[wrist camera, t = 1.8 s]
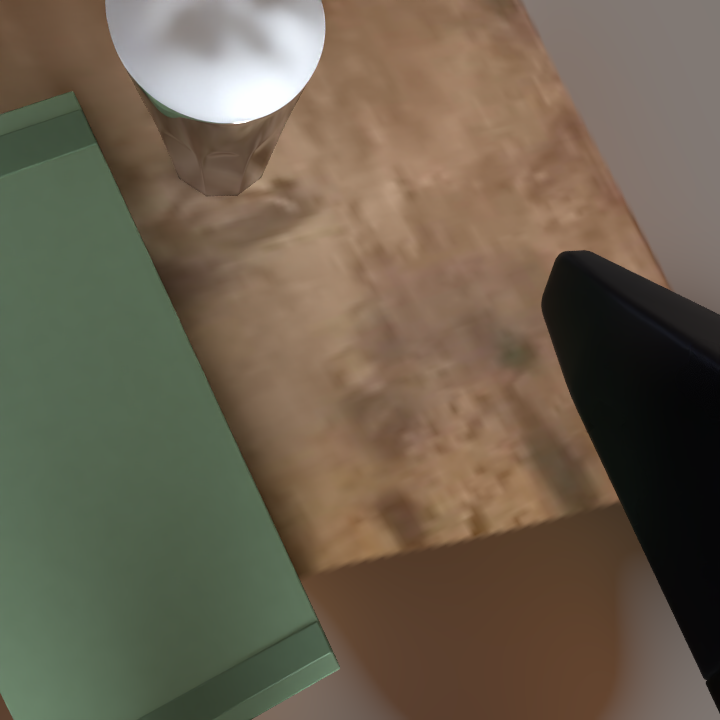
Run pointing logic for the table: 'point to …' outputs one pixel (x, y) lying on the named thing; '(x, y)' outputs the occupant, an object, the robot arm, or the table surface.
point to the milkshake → (218, 78)
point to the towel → (122, 472)
